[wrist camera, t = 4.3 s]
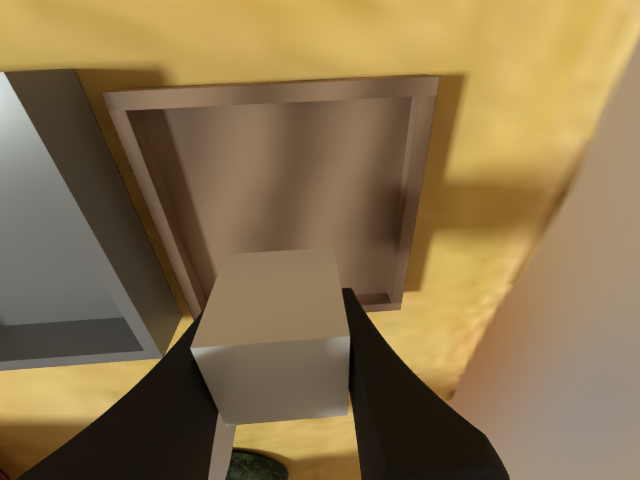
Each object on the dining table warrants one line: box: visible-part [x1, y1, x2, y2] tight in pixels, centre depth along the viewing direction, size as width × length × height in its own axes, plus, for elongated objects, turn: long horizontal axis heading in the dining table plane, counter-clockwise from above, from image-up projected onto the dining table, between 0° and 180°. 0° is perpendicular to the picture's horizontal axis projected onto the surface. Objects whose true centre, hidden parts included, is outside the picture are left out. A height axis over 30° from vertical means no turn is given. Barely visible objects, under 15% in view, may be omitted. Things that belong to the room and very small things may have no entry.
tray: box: [101, 75, 440, 320], centre depth 19 cm, size 16×16×2 cm
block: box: [190, 247, 350, 426], centre depth 11 cm, size 4×4×4 cm
